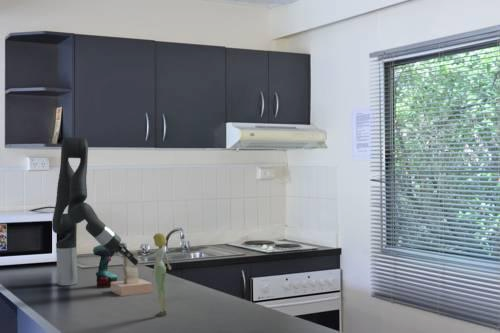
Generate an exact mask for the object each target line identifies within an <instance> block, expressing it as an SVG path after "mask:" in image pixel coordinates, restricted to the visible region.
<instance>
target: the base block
mask: <svg viewBox="0 0 500 333" xmlns="http://www.w3.org/2000/svg"><path fill="white" fill-rule="evenodd" d="M138 280H139V283H132V284H126V283H124V280H119V281H118V280H117V281H116V282H111V287H110V292H112V293H114V294H116V295H118V296H120V297H124V296H125V297H126V296H133V295H142V294H150V293H151V294H152V293H153V282H150V281H147V280H145V279H142V278H138Z"/></svg>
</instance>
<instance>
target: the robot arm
mask: <svg viewBox="0 0 500 333" xmlns="http://www.w3.org/2000/svg"><path fill="white" fill-rule="evenodd" d="M60 151H61V152H60V164H59V166H60V167H59V173H58V179H57V187H56V197H55V198H56V200H55V207H54V210H53V215H52V221H51V228H52V232H54V234H67V235H66V237H65V238H63V239H60V240H58V241H56V243H55V245H56V246H55V248H56V251H55V252H56V284H57V286H73V285H74V286H75V285H77V284H78V255H77V254H78V253H77V252H78V250H77V228H78V226H77V225H78V224H79V223H81V222H83V221H86V223H87V224H86V225H85V230H86V231H87V233H88V234H90V235H91V236H92V237H93V238H94V239H95V240H96V241H97V242H98V243H99V245H102V246H103V247H104V248H105V249H106V250H107V251H109V252H110V251H114V252H115V254H116V255H117V256H118V257H120V258H121V259H123V257H124V258H127V259H128V260H130V261H131V262H132V263H133V264H134V265H137V263H138V264H139V259H138V260H137V259H136V258H134V257H133V254H132V253H131V252H130V251H128V250H129V249H128V248H125V247H124V246H123V245H120V243H122V238H121V237H120V236H119V235H118V234H117V233H116V232H114V230H112V229H111V228H110V227H109V226H107V225H106V224H105V223H104V222H102V220H100V218H99V217H98V215H97V213H96V212H95V209H94V208H93V207H92V206H91V204H88V203H87V202H85V201H86V200H87V198H88V187H87V186H88V185H87V184H88V183H87V174H88V159H89V158H88V157H89V156H88V155H89V145H88V141H87V138H85V137H76V136H75V137H74V136H66V137H64V138H63V139H62V140H61V150H60ZM69 159H80V162H79V164H78V167H77V168H76V170H75V171H74V169H73V168H72V166H71V164H70V161H69ZM66 209H67V212H66V213H64V211H65V210H66ZM128 254H129V255H130V256H129V257H128V256H127V255H128Z"/></svg>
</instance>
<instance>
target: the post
mask: <svg viewBox="0 0 500 333" xmlns="http://www.w3.org/2000/svg"><path fill="white" fill-rule="evenodd" d="M127 250H128V251H130V252H131V253H132V254H133V257H134V258H136V259H137V260H138V261H139V259H138V258H139V253H138V252H139V251H138V250H137V249H134V248H133V249H127ZM127 256H128V257H129V256H130V255H129V254H128V255H127ZM122 264H123V265H122V267H123V269H122V270H123V272H122V273H123V274H122V275H123V281H124V283H126V284H132V283H139V280H138V279H139V262H138V263H137V265H134V264H133V263H132V262H131V261H130V260H128V259H127V258H124V257H123V258H122Z"/></svg>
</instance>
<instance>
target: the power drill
mask: <svg viewBox="0 0 500 333" xmlns="http://www.w3.org/2000/svg"><path fill="white" fill-rule="evenodd" d="M120 245H123V246H124V247H125V248H126V249H128V248H127V247H128V245H127V243H125V242H120ZM92 252H93V254H94V255H95V256H97V257H98V256H99V257H100V260H99V264H98V270H97V272H96V273H95V276H96V288H111V282H116V281H118V275H117V274H114V273H111V272H109V270H108V269H109V263H110V262H111V261H112V260H113V259H112V257H113V256H114V255H115V254H116V253H115V252H114V251H110V252H109V251H107V250H106V249H105V248H104V247H103V246H102V245H101V244H99V245H96V246H94V247H93V249H92Z"/></svg>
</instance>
